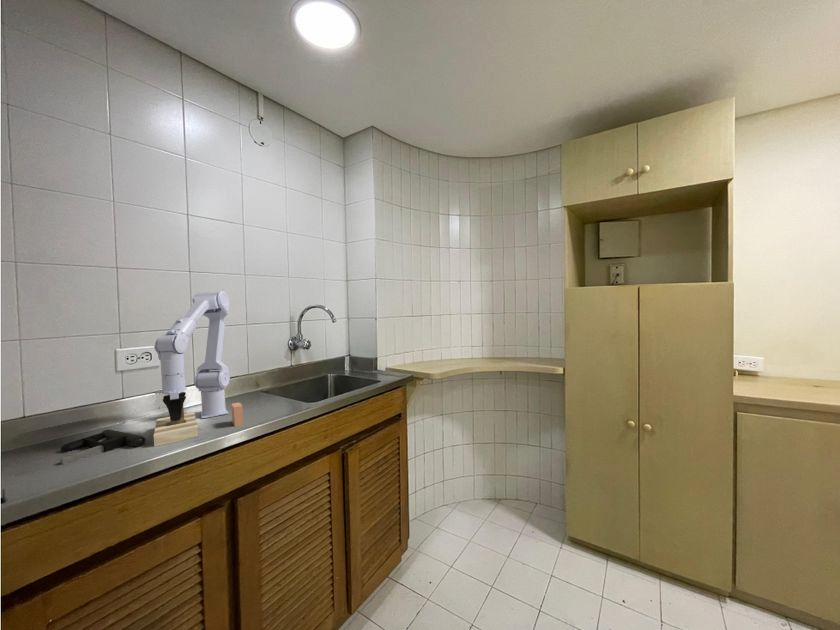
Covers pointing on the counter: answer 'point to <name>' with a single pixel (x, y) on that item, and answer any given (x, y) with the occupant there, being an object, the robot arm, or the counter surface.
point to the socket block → (175, 430)
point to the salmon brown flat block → (237, 414)
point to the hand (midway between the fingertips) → (175, 418)
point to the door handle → (100, 444)
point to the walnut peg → (178, 420)
